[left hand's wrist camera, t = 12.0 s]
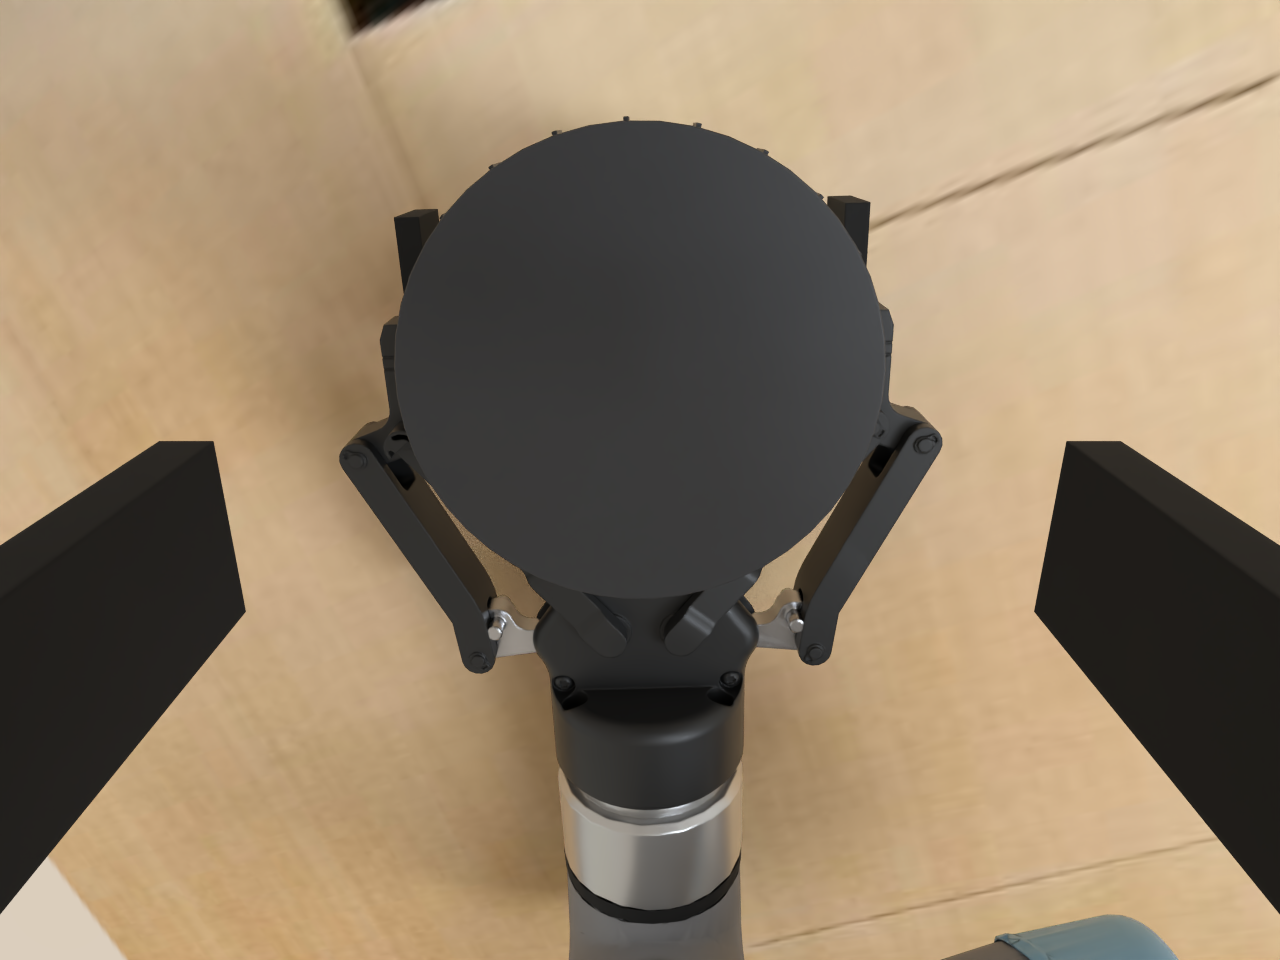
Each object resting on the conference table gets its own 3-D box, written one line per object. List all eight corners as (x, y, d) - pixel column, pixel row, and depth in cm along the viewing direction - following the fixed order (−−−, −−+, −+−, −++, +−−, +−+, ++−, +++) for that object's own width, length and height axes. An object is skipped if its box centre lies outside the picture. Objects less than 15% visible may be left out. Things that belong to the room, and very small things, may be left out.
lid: (888, 529, 23) (908, 561, 22) (477, 598, 24) (464, 635, 22) (844, 71, 19) (864, 66, 17) (351, 173, 20) (324, 178, 18)
